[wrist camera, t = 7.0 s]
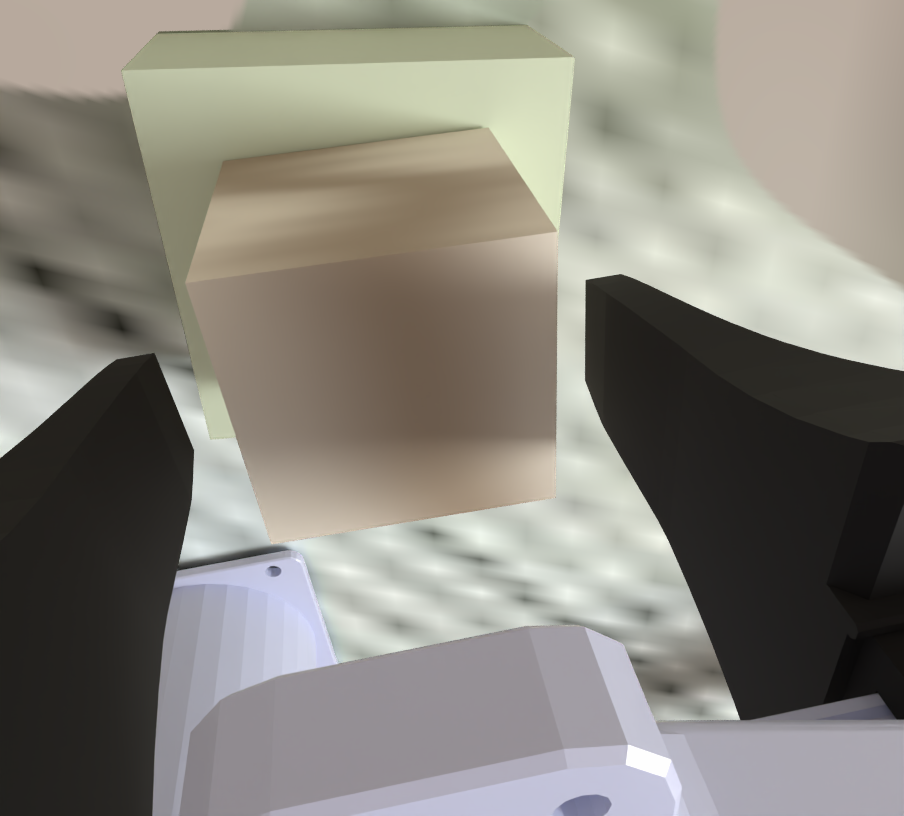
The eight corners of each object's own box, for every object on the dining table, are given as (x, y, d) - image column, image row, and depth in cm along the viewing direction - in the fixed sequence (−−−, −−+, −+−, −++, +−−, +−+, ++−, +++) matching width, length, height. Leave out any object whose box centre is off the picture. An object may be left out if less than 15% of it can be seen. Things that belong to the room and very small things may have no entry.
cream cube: (281, 381, 17) (271, 544, 13) (223, 160, 14) (185, 282, 10) (499, 349, 17) (555, 497, 13) (488, 127, 14) (557, 231, 10)
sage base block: (225, 351, 20) (210, 440, 17) (158, 31, 16) (121, 71, 13) (507, 329, 21) (542, 408, 18) (523, 22, 17) (574, 57, 14)
